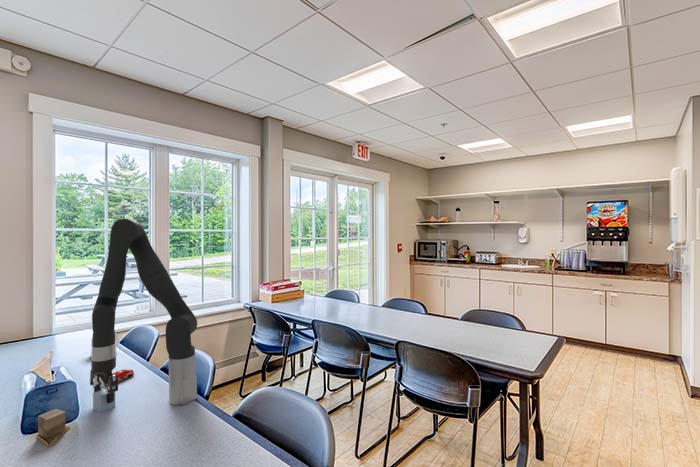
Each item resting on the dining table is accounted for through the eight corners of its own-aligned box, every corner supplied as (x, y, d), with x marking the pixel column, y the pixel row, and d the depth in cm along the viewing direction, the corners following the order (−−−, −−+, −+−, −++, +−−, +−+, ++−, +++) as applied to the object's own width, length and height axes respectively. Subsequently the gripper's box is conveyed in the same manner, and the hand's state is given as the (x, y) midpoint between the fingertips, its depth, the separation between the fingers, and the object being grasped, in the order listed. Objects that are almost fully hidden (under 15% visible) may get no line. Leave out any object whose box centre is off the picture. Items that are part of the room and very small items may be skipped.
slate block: (115, 406, 131) (115, 390, 131) (101, 412, 126) (100, 396, 126) (107, 403, 133) (107, 387, 133) (93, 409, 129) (92, 393, 129)
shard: (49, 449, 106) (49, 443, 106) (20, 452, 105) (20, 446, 105) (71, 429, 117) (71, 424, 117) (45, 431, 115) (45, 426, 115)
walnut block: (65, 430, 113) (65, 411, 113) (47, 438, 109) (47, 419, 109) (56, 426, 115) (56, 408, 115) (38, 434, 111) (38, 415, 111)
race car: (107, 388, 146) (107, 379, 146) (98, 387, 148) (98, 377, 148) (136, 376, 158) (136, 367, 158) (127, 374, 160) (127, 365, 160)
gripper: (125, 356, 130) (125, 400, 130) (104, 350, 137) (104, 391, 137) (103, 363, 123) (103, 409, 124) (82, 356, 130) (82, 399, 130)
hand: (103, 399), depth 130 cm, fingers open, 8 cm apart
